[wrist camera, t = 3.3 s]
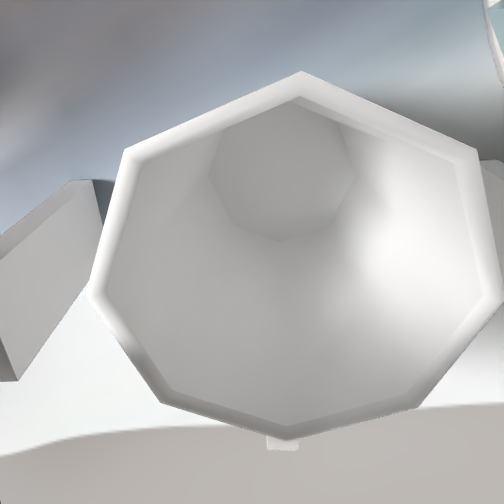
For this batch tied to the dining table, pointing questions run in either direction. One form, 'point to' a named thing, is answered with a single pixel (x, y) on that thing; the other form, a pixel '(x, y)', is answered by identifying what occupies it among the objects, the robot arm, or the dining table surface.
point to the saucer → (495, 32)
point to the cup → (296, 261)
